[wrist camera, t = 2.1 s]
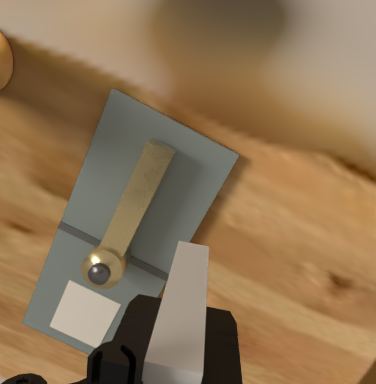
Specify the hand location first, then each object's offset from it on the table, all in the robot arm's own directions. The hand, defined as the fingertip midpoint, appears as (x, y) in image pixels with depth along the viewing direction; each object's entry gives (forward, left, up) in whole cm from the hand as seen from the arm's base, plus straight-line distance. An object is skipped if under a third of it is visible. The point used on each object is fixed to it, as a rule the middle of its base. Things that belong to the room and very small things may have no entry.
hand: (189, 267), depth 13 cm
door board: (-5, -9, -13) cm, 16 cm away
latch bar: (-5, -4, -11) cm, 13 cm away
